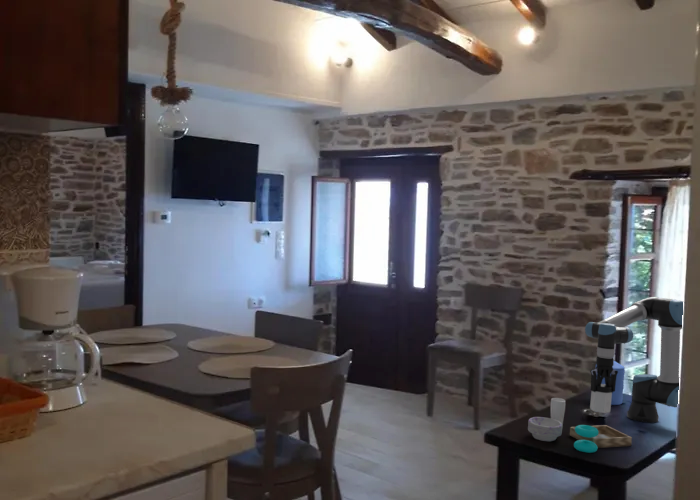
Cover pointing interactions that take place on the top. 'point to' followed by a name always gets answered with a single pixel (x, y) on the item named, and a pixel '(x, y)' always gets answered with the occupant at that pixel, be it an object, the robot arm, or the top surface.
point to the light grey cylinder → (557, 409)
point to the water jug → (617, 384)
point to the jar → (601, 399)
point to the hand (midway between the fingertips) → (601, 406)
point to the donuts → (586, 444)
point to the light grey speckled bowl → (544, 428)
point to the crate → (605, 437)
